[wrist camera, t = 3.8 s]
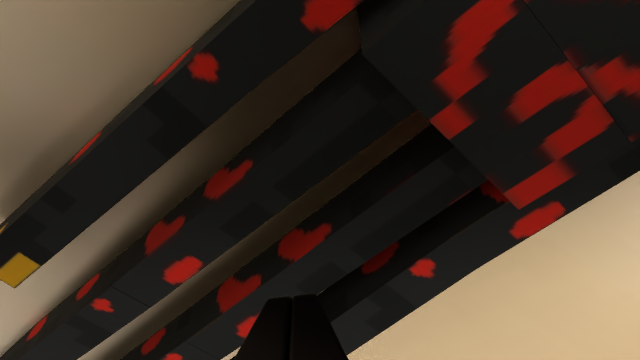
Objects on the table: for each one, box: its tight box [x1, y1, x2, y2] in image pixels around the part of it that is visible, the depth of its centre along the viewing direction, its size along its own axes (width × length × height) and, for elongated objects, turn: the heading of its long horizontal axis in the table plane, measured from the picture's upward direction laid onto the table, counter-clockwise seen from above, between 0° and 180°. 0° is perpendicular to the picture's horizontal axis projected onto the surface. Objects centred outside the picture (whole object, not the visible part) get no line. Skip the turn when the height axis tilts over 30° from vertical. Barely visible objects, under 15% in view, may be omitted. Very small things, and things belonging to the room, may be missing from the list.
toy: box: [0, 0, 640, 360], centre depth 13 cm, size 8×5×30 cm
